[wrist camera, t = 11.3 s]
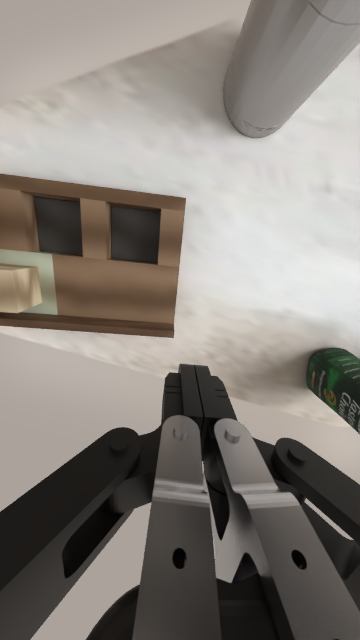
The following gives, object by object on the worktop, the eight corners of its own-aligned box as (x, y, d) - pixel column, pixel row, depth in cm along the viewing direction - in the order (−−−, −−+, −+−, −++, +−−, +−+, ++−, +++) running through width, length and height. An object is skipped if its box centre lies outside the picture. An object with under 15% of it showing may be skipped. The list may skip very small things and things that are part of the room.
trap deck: (-8, 178, 26) (-56, 159, 21) (184, 203, 28) (188, 191, 23) (15, 311, 32) (-18, 324, 26) (172, 323, 34) (173, 337, 29)
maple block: (-2, 263, 27) (-39, 266, 22) (37, 266, 27) (10, 270, 23) (4, 299, 29) (-28, 309, 24) (42, 302, 29) (17, 313, 24)
